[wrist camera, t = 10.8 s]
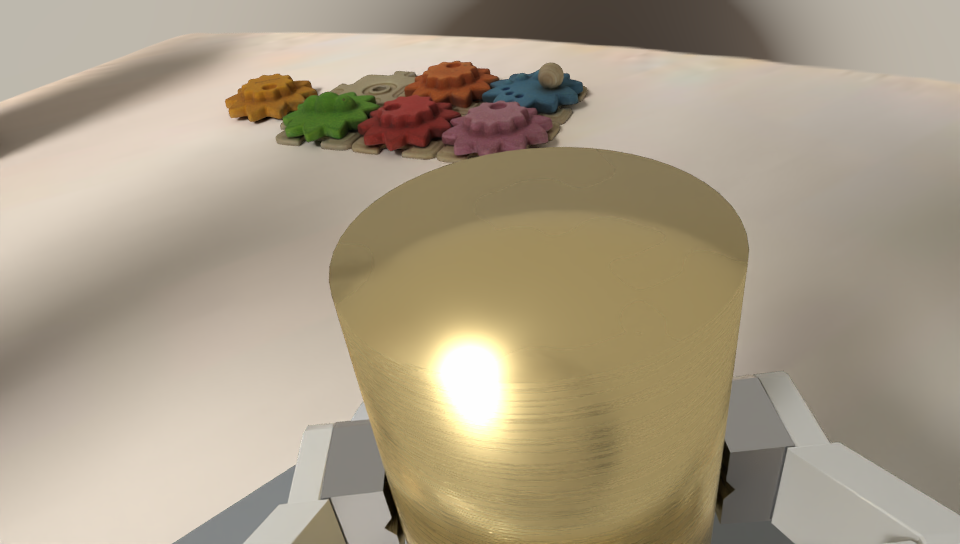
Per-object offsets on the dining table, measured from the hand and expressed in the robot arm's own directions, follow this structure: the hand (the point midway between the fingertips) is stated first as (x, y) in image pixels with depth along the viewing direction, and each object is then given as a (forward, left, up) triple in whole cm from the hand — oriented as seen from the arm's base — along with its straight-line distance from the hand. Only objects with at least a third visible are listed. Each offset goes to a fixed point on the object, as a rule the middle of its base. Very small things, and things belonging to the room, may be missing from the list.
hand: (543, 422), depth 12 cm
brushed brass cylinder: (+1, -1, -5) cm, 6 cm away
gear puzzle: (-42, +22, -13) cm, 49 cm away
